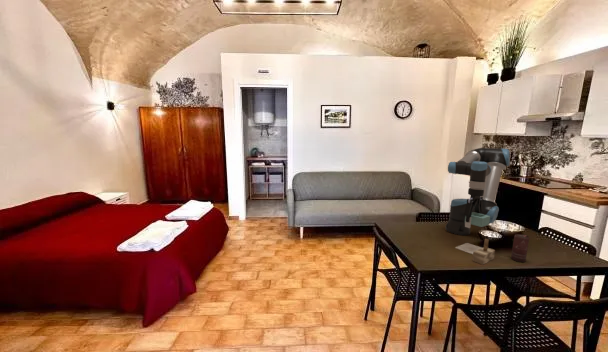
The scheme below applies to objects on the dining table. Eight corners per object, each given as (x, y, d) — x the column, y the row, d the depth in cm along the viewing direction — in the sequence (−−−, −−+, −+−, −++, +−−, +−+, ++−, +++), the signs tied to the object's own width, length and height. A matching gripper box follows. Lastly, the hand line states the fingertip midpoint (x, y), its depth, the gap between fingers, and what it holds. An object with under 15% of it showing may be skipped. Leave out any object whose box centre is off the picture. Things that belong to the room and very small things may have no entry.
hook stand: (483, 255, 146) (486, 235, 145) (493, 258, 142) (496, 238, 140) (472, 260, 139) (474, 240, 138) (482, 264, 135) (485, 243, 133)
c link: (489, 224, 149) (490, 216, 148) (481, 227, 144) (482, 218, 144) (472, 220, 157) (473, 212, 156) (464, 222, 152) (465, 214, 151)
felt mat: (466, 243, 163) (466, 242, 163) (492, 251, 151) (492, 251, 151) (455, 248, 155) (455, 247, 155) (480, 257, 144) (480, 256, 143)
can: (528, 261, 140) (532, 236, 137) (520, 263, 138) (524, 238, 136) (516, 256, 145) (520, 232, 143) (508, 257, 144) (511, 233, 141)
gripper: (478, 185, 158) (473, 221, 162) (459, 188, 147) (455, 227, 150) (492, 187, 152) (487, 224, 156) (474, 191, 141) (469, 231, 144)
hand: (471, 225), depth 153 cm, fingers closed on c link, 9 cm apart
